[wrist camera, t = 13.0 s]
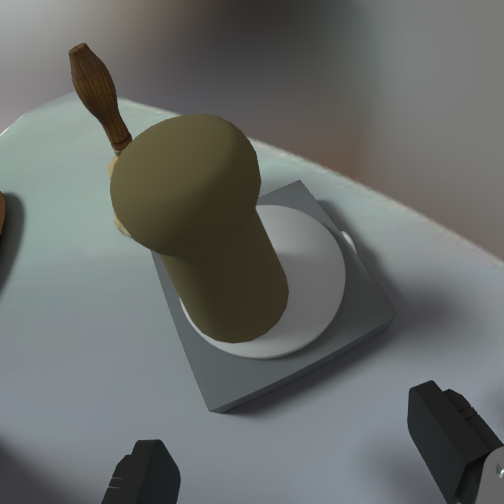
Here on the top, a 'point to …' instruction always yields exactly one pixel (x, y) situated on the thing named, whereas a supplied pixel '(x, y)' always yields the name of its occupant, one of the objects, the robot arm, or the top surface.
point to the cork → (203, 222)
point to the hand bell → (100, 101)
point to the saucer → (2, 211)
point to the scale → (289, 307)
